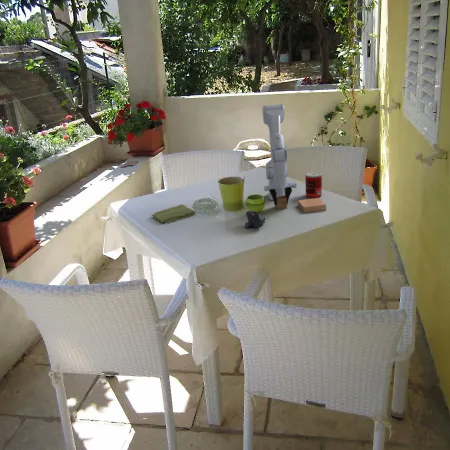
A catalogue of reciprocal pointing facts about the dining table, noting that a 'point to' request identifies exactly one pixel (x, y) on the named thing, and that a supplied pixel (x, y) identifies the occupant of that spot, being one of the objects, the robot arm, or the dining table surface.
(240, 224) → the dining table surface
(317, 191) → the canned food
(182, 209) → the washcloth
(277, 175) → the robot arm
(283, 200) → the walnut block
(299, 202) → the terracotta tile
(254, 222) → the frog
